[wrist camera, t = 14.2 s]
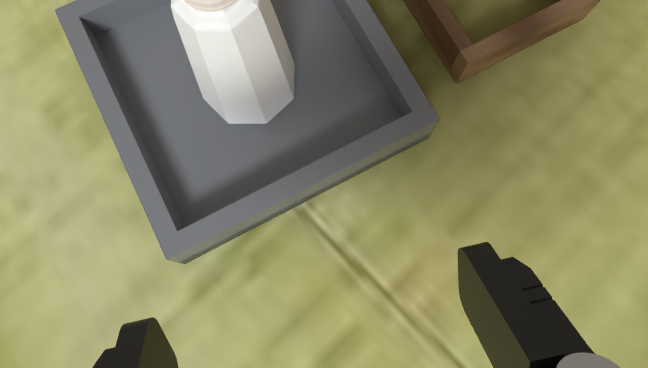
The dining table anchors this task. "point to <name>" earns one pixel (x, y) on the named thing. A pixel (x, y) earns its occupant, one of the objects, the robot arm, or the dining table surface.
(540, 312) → the robot arm
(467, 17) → the dining table surface
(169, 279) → the dining table surface
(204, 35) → the salt shaker
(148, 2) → the tray
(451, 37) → the collar
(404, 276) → the dining table surface
